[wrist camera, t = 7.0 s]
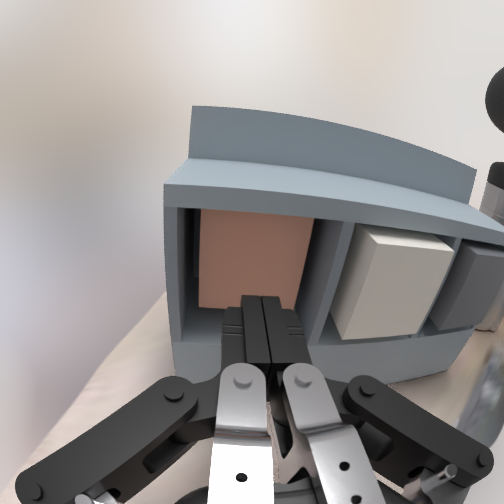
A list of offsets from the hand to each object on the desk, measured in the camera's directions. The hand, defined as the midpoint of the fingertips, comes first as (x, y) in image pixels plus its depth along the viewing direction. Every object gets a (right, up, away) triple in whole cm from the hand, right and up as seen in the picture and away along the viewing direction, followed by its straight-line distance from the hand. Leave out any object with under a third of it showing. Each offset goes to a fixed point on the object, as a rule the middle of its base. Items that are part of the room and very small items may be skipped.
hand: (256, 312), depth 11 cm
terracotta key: (-1, 0, +7) cm, 7 cm away
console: (+7, -6, +12) cm, 15 cm away
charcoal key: (+15, -2, +7) cm, 17 cm away
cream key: (+7, -1, +6) cm, 10 cm away
